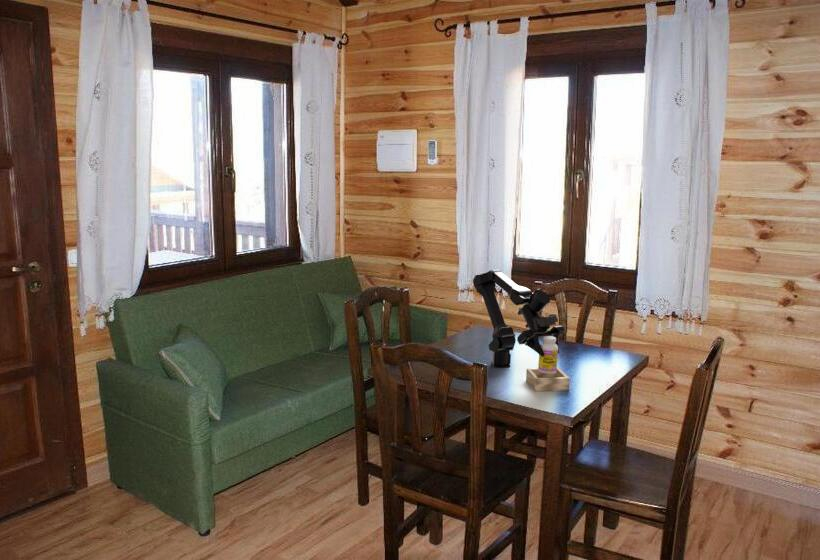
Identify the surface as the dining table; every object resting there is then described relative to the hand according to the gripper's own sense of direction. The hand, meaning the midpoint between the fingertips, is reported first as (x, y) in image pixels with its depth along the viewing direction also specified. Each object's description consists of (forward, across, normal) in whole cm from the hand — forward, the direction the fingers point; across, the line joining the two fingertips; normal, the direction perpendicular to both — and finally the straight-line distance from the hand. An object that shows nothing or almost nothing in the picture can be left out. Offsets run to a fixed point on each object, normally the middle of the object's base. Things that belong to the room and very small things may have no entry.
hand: (551, 354), depth 254 cm
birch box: (+8, 0, +9) cm, 12 cm away
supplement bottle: (+4, 0, +6) cm, 7 cm away
